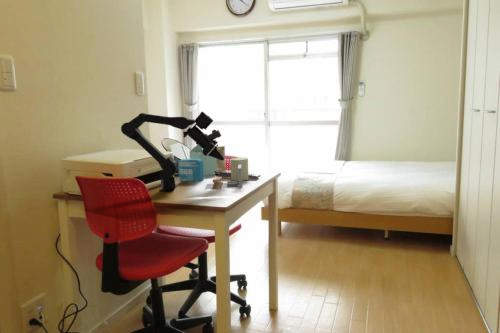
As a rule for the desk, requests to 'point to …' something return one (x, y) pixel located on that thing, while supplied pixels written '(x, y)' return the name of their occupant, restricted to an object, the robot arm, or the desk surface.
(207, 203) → the desk surface
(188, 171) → the data package
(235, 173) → the can
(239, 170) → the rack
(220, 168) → the birch strip
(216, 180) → the offcut stack
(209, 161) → the grey-green peaked box
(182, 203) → the desk surface
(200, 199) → the desk surface
